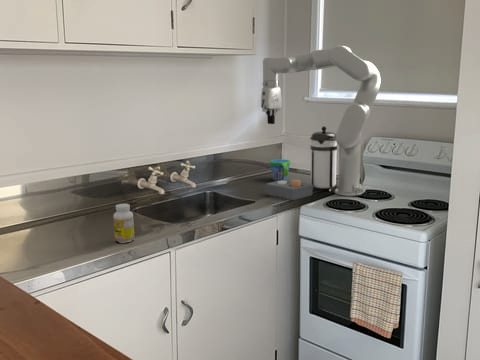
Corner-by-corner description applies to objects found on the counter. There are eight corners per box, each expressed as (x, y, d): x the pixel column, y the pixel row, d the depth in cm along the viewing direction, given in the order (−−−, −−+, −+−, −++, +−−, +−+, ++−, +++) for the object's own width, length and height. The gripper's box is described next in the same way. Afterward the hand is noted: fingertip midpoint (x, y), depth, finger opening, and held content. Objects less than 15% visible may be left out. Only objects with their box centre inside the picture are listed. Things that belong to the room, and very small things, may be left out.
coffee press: (346, 190, 256) (348, 126, 250) (317, 193, 250) (318, 128, 244) (327, 183, 272) (328, 123, 265) (299, 186, 266) (299, 125, 260)
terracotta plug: (302, 191, 245) (303, 180, 244) (296, 192, 242) (296, 182, 241) (295, 189, 249) (295, 179, 247) (289, 191, 246) (289, 180, 245)
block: (312, 195, 247) (312, 184, 246) (293, 200, 239) (293, 189, 238) (284, 189, 259) (284, 179, 258) (265, 194, 251) (265, 183, 250)
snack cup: (266, 177, 287) (265, 158, 285) (285, 176, 290) (285, 157, 287) (274, 183, 272) (274, 163, 270) (294, 182, 275) (294, 162, 272)
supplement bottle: (111, 240, 188) (109, 204, 185) (129, 237, 192) (127, 201, 189) (120, 245, 182) (117, 208, 180) (138, 241, 186) (135, 205, 184)
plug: (288, 192, 252) (288, 181, 251) (282, 193, 249) (282, 183, 248) (281, 190, 255) (281, 180, 254) (275, 192, 252) (275, 181, 251)
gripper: (265, 85, 246) (265, 125, 249) (287, 84, 256) (287, 123, 259) (254, 84, 251) (254, 124, 255) (276, 83, 261) (276, 121, 265)
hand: (271, 123), depth 257 cm, fingers closed
